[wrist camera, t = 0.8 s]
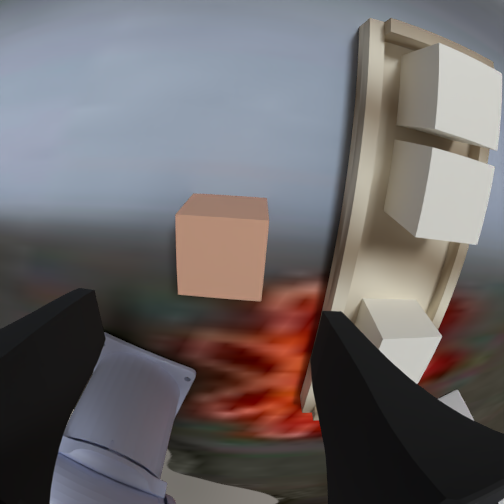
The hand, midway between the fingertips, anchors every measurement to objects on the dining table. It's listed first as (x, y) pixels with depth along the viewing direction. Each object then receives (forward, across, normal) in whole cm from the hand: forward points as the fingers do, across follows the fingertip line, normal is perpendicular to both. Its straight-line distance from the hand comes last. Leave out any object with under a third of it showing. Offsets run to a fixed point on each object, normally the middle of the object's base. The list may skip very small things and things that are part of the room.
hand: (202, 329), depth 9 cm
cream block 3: (+8, -10, +5) cm, 14 cm away
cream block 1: (+8, -10, -9) cm, 16 cm away
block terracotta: (+9, 0, 0) cm, 9 cm away
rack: (+9, -10, +1) cm, 14 cm away
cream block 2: (+8, -10, -4) cm, 14 cm away
